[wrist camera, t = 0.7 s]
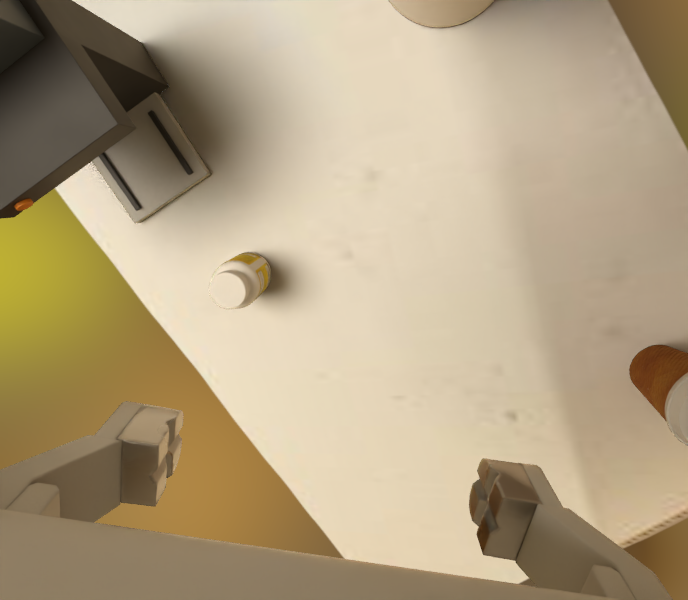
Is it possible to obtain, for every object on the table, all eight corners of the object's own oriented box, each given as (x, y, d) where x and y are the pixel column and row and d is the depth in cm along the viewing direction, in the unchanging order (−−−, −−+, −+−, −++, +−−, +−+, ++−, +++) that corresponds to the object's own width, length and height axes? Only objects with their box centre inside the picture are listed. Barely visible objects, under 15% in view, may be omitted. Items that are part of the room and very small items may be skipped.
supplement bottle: (220, 271, 60) (191, 287, 50) (251, 242, 59) (227, 254, 49) (250, 303, 60) (227, 325, 51) (281, 275, 59) (263, 293, 50)
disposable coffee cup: (617, 334, 58) (677, 371, 47) (699, 330, 58) (781, 367, 46) (613, 406, 61) (670, 458, 49) (692, 402, 60) (769, 455, 48)
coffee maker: (221, 167, 57) (89, 152, 30) (130, 229, 59) (-65, 264, 33) (140, 42, 54) (-79, -92, 28) (48, 112, 56) (-234, 50, 30)
